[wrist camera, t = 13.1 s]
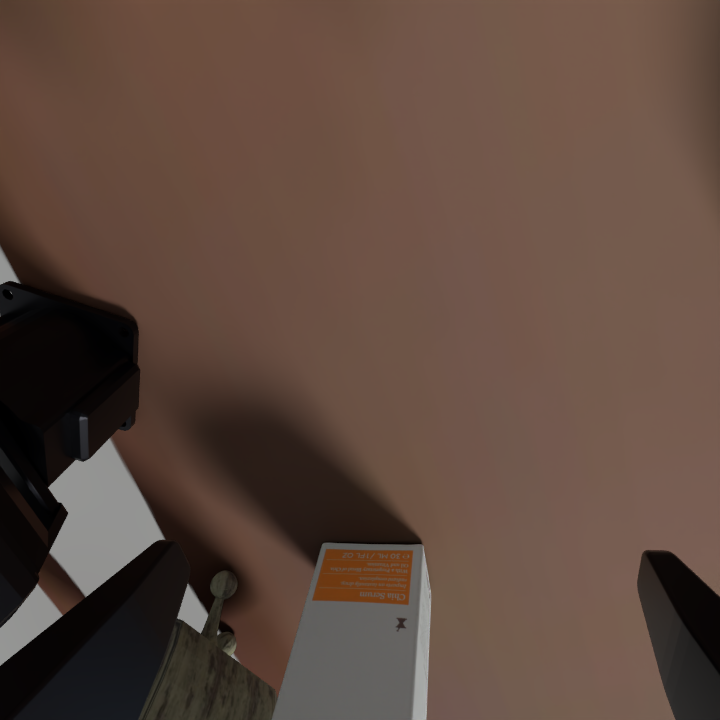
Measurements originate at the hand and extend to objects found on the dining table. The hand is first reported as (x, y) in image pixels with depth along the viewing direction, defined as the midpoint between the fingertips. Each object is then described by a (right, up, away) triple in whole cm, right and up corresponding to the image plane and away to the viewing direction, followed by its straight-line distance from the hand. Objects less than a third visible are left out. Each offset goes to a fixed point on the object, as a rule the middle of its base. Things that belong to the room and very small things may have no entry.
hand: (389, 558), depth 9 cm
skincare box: (0, -8, +19) cm, 20 cm away
